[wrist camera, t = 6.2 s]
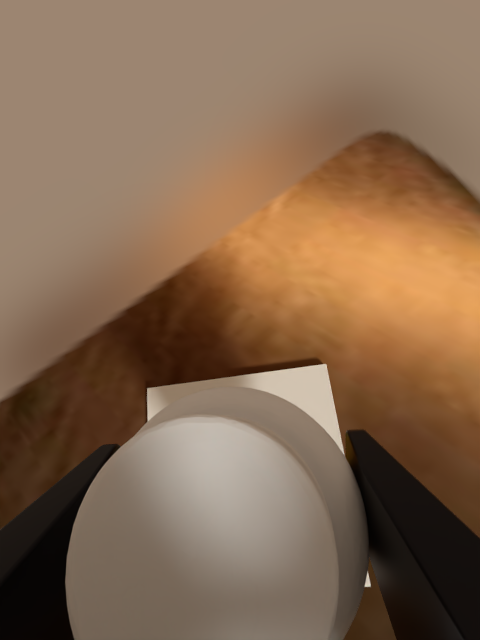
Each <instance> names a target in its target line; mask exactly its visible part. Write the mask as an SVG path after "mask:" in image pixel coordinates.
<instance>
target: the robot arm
mask: <svg viewBox="0 0 480 640" xmlns="http://www.w3.org/2000/svg"><path fill="white" fill-rule="evenodd" d="M119 448H120V446H119V445H118V444H106V445H102V446H101V447H99V448H98V449H97V450H96V451H94V452H93V453H92V454H91V455H90V456H88V457H87V458H86V459H85V460H84V461H82V462H81V463H80V464H79V465H78V466H76V467H75V468H74V469H73V470H72V471H70V472H69V473H68V474H67V475H66V476H64V477H63V478H62V479H61V480H60V481H58V482H57V483H56V484H55V485H54V486H52V487H51V488H50V489H49V490H48V491H46V492H45V493H44V494H43V495H42V496H40V497H39V498H38V499H37V500H36V501H34V502H33V503H32V504H31V505H30V506H28V507H27V508H26V509H25V510H24V511H22V512H21V513H20V514H19V515H18V516H16V517H15V518H14V519H13V520H12V521H10V522H9V523H8V524H7V525H6V526H4V527H3V528H2V529H1V530H0V640H74V637H73V633H72V629H71V625H70V620H69V614H68V608H67V599H66V585H65V578H66V563H67V554H68V549H69V543H70V538H71V533H72V529H73V525H74V522H75V519H76V516H77V513H78V510H79V508H80V505H81V503H82V501H83V499H84V497H85V495H86V493H87V491H88V489H89V487H90V485H91V483H92V482H93V480H94V479H95V477H96V475H97V474H98V472H99V471H100V470H101V468H102V467H103V466H104V465H105V463H106V462H107V461H108V460H109V459H110V458H111V457H112V455H113V454H114V453H115V452H116V451H117V450H118V449H119ZM346 459H347V461H348V463H349V465H350V467H351V469H352V471H353V473H354V476H355V478H356V481H357V483H358V486H359V488H360V491H361V495H362V499H363V502H364V507H365V511H366V516H367V523H368V532H369V557H370V560H371V563H372V566H373V569H374V572H375V575H376V578H377V581H378V584H379V587H380V591H381V594H382V597H383V600H384V603H385V606H386V609H387V612H388V615H389V618H390V621H391V624H392V627H393V630H394V633H395V636H396V639H397V640H480V538H479V537H478V536H477V535H476V534H475V533H474V532H473V531H472V530H471V529H470V528H469V527H468V526H467V525H466V524H464V523H463V522H462V521H461V520H460V519H459V518H458V517H457V516H456V515H455V514H454V513H453V512H452V511H451V510H450V509H448V508H447V507H446V506H445V505H444V504H443V503H442V502H441V501H440V500H439V499H438V498H437V497H436V496H435V495H434V494H433V493H431V492H430V491H429V490H428V489H427V488H426V487H425V486H424V485H423V484H422V483H421V482H420V481H419V480H418V479H417V478H416V477H414V476H413V475H412V474H411V473H410V472H409V471H408V470H407V469H406V468H405V467H404V466H403V465H402V464H401V463H400V462H399V461H397V460H396V459H395V458H394V457H393V456H392V455H391V454H390V453H389V452H388V451H387V450H386V449H385V448H384V447H383V446H382V445H380V444H379V443H378V442H377V441H376V440H375V439H374V438H373V437H372V436H371V435H370V434H369V433H368V432H367V431H365V430H364V429H352V430H347V431H346Z"/></svg>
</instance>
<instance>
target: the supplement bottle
mask: <svg viewBox="0 0 480 640" xmlns="http://www.w3.org/2000/svg"><path fill="white" fill-rule="evenodd" d="M368 561H369V532H368V523H367V516H366V511H365V507H364V502H363V499H362V495H361V491H360V488H359V486H358V483H357V481H356V478H355V476H354V473H353V471H352V469H351V467H350V465H349V463H348V461H347V459H346V458H345V456H344V454H343V453H342V451H341V450H340V448H339V447H338V445H337V444H336V442H335V441H334V440H333V439H332V437H331V436H330V435H329V434H328V433H327V432H326V430H325V429H324V428H323V427H322V426H321V425H320V424H319V423H318V422H316V421H315V420H314V419H313V418H312V417H311V416H309V415H308V414H307V413H306V412H304V411H303V410H302V409H300V408H299V407H297V406H296V405H294V404H292V403H291V402H289V401H287V400H285V399H283V398H281V397H279V396H276V395H274V394H271V393H268V392H265V391H261V390H257V389H252V388H244V387H218V388H212V389H207V390H202V391H199V392H196V393H193V394H190V395H187V396H185V397H183V398H181V399H179V400H177V401H175V402H173V403H171V404H170V405H168V406H167V407H165V408H164V409H162V410H161V411H160V412H158V413H157V414H156V415H155V416H153V417H152V418H151V419H150V420H149V421H148V422H147V423H146V424H145V425H144V426H143V427H142V428H141V429H140V430H139V431H138V432H137V434H136V435H135V436H134V437H133V438H131V439H130V440H129V441H128V442H126V443H125V444H124V445H123V446H122V447H120V448H119V449H118V450H117V451H116V452H115V453H114V454H113V455H112V457H111V458H110V459H109V460H108V461H107V462H106V463H105V465H104V466H103V467H102V468H101V470H100V471H99V472H98V474H97V475H96V477H95V479H94V480H93V482H92V483H91V485H90V487H89V489H88V491H87V493H86V495H85V497H84V499H83V501H82V503H81V505H80V508H79V510H78V513H77V516H76V519H75V522H74V525H73V529H72V533H71V538H70V543H69V549H68V554H67V563H66V578H65V585H66V599H67V608H68V614H69V620H70V625H71V629H72V633H73V637H74V640H343V638H344V637H345V635H346V633H347V631H348V629H349V627H350V625H351V623H352V621H353V619H354V617H355V615H356V613H357V610H358V607H359V604H360V601H361V598H362V594H363V591H364V587H365V582H366V577H367V571H368Z"/></svg>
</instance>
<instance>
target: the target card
mask: <svg viewBox="0 0 480 640" xmlns="http://www.w3.org/2000/svg"><path fill="white" fill-rule="evenodd" d="M218 387H244V388H252V389H257V390H261V391H265V392H268V393H271V394H274V395H276V396H279V397H281V398H283V399H285V400H287V401H289V402H291V403H292V404H294V405H296V406H297V407H299V408H300V409H302V410H303V411H304V412H306V413H307V414H308V415H309V416H311V417H312V418H313V419H314V420H315V421H316V422H318V423H319V424H320V425H321V426H322V427H323V428H324V429H325V430H326V432H327V433H328V434H329V435H330V436H331V437H332V439H333V440H334V441H335V442H336V444H337V445H338V447H339V448H340V450H341V451H342V453H343V454H344V451H343V446H342V441H341V436H340V431H339V426H338V421H337V416H336V411H335V406H334V401H333V396H332V391H331V386H330V381H329V376H328V371H327V366H326V364H322V365H314V366H307V367H300V368H292V369H285V370H278V371H270V372H263V373H256V374H248V375H241V376H234V377H226V378H219V379H212V380H204V381H197V382H190V383H182V384H175V385H168V386H160V387H153V388H147V411H148V421H149V420H150V419H151V418H152V417H153V416H155V415H156V414H157V413H158V412H160V411H161V410H162V409H164V408H165V407H167V406H168V405H170V404H171V403H173V402H175V401H177V400H179V399H181V398H183V397H185V396H187V395H190V394H193V393H196V392H199V391H202V390H207V389H212V388H218ZM369 586H371V585H370V580H369V575H368V571H367V577H366V582H365V587H369Z"/></svg>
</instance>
